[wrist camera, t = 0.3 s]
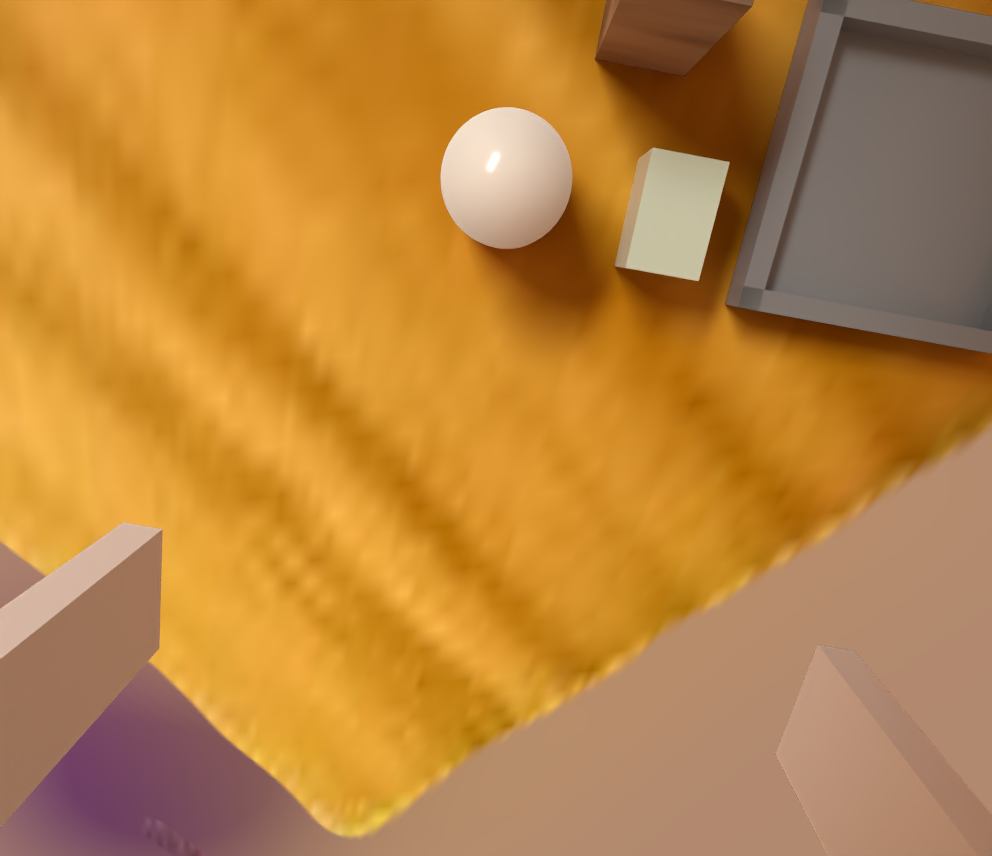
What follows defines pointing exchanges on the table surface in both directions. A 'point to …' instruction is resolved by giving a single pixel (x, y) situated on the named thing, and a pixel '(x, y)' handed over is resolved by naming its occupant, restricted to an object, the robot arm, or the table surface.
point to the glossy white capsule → (506, 177)
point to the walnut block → (665, 31)
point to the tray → (879, 177)
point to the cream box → (671, 213)
